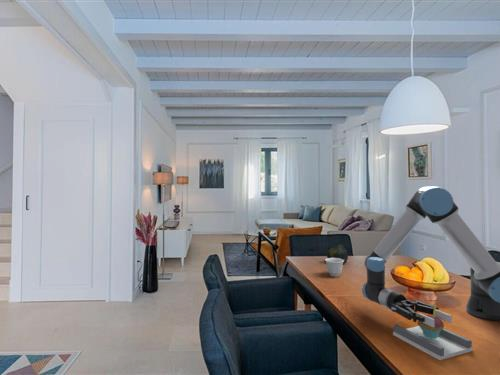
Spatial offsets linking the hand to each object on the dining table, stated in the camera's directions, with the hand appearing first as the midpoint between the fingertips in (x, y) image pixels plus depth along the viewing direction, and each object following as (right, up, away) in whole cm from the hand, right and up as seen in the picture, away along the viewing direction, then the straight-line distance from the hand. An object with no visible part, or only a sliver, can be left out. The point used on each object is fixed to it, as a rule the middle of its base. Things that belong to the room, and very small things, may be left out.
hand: (442, 321), depth 116 cm
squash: (-3, -9, +126) cm, 127 cm away
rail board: (-2, -10, +5) cm, 11 cm away
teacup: (-14, -9, +96) cm, 97 cm away
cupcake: (-2, -7, +5) cm, 9 cm away
